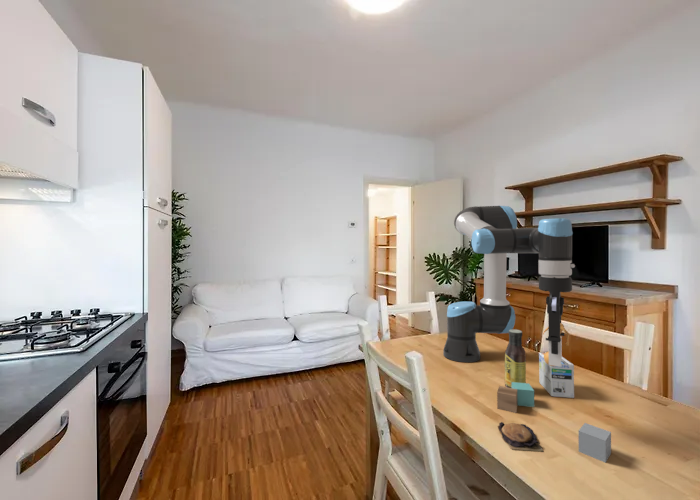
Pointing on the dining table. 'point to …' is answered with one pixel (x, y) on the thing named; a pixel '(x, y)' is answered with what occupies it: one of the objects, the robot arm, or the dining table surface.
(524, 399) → the teal painted cube
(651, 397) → the dining table surface
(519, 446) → the bread roll
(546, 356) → the figurine
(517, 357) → the sauce bottle
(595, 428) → the slate grey cube
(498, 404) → the walnut cube
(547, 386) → the light bulb box
